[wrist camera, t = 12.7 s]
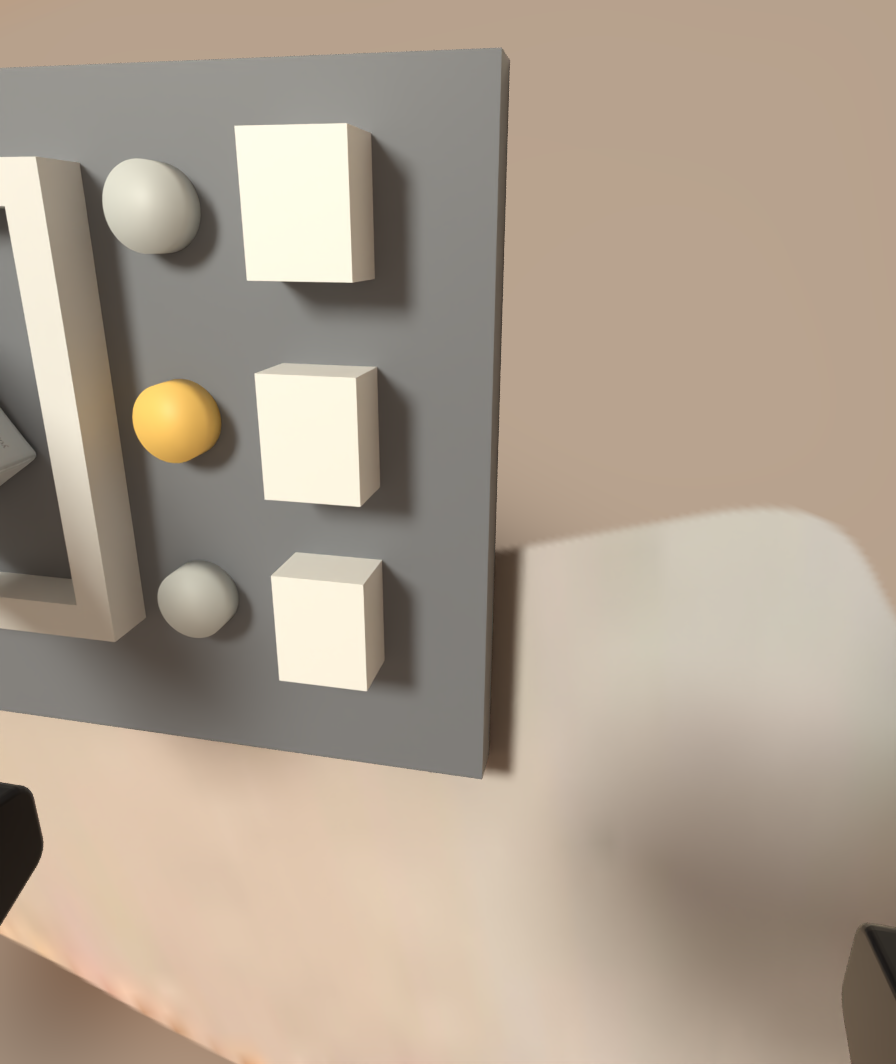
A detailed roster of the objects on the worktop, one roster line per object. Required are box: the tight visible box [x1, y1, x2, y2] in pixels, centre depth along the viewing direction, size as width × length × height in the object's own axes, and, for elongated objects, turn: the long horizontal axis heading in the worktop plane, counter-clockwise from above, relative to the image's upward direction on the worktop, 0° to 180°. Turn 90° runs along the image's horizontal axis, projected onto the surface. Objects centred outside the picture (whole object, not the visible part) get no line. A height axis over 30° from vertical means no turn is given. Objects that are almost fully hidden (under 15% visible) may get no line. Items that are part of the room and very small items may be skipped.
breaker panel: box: [0, 48, 510, 779], centre depth 21 cm, size 24×18×3 cm
